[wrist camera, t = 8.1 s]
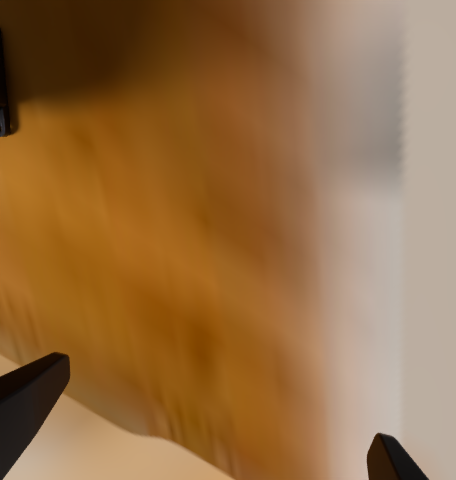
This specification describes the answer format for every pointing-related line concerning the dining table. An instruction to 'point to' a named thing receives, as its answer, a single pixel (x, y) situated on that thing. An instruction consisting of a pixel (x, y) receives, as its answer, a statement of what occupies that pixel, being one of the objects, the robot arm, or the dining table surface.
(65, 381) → the robot arm
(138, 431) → the dining table surface
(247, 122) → the dining table surface
